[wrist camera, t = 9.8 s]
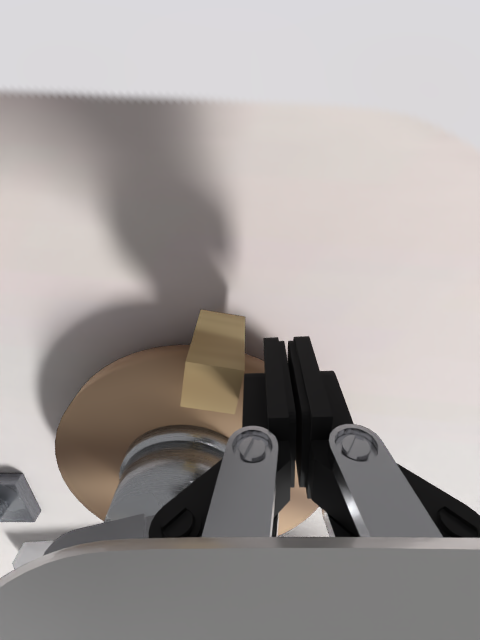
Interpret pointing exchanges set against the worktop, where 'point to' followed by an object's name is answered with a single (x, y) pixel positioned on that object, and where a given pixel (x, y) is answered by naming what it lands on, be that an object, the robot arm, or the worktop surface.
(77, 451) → the turntable
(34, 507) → the gauge post
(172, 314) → the worktop surface
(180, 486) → the cover
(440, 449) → the worktop surface
